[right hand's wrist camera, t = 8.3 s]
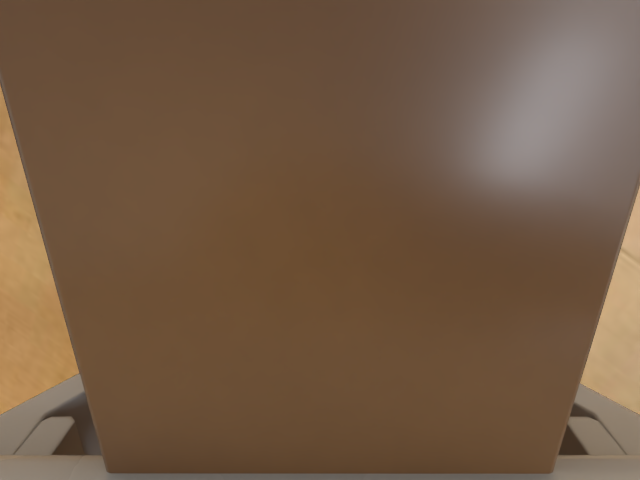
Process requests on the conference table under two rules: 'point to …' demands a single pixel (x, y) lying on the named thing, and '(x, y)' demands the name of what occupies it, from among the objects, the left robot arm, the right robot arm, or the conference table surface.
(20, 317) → the conference table surface
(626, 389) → the conference table surface
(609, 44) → the bar
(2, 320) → the conference table surface
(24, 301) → the conference table surface
